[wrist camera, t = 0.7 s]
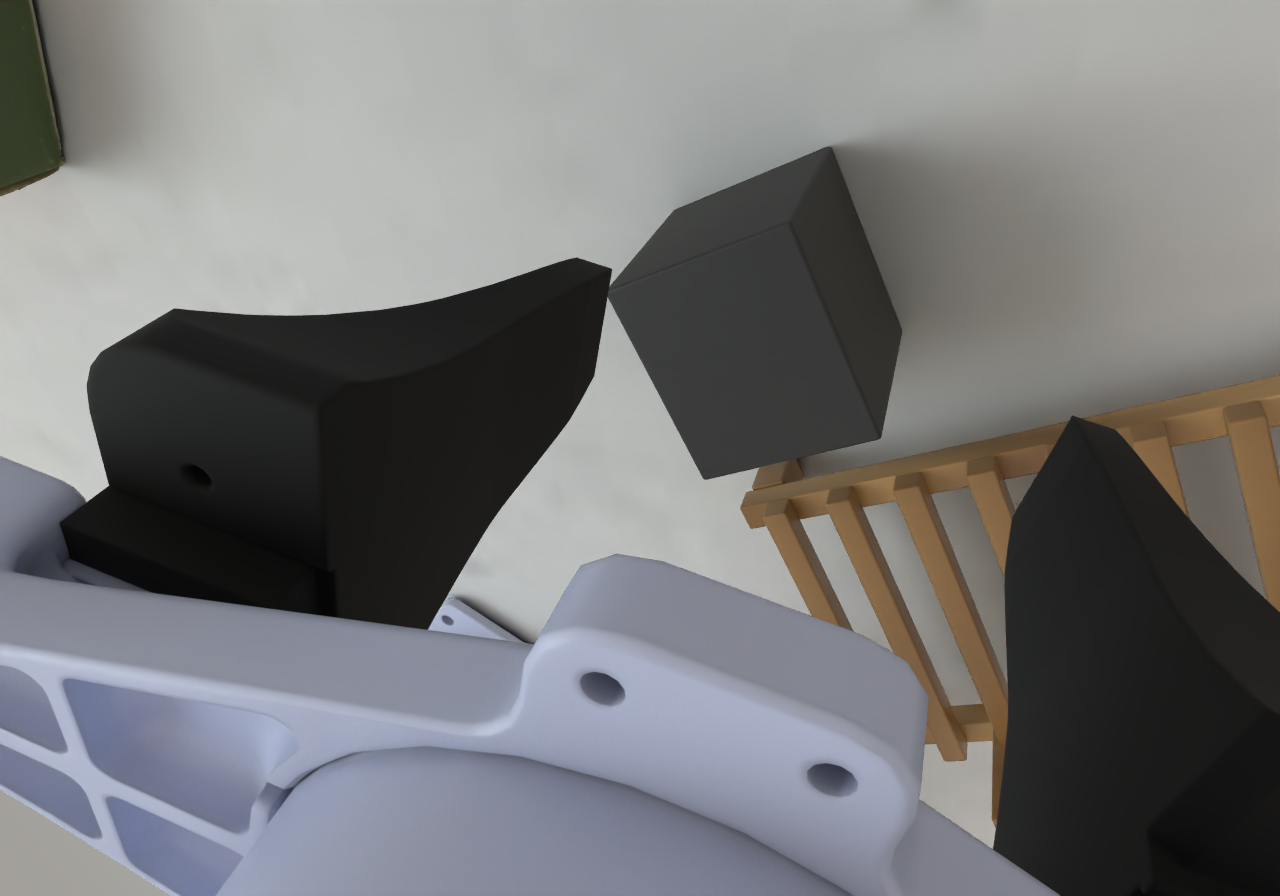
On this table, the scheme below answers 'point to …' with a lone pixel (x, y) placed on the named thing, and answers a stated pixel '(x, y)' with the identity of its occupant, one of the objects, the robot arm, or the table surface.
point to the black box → (764, 320)
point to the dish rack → (998, 530)
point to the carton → (24, 102)
